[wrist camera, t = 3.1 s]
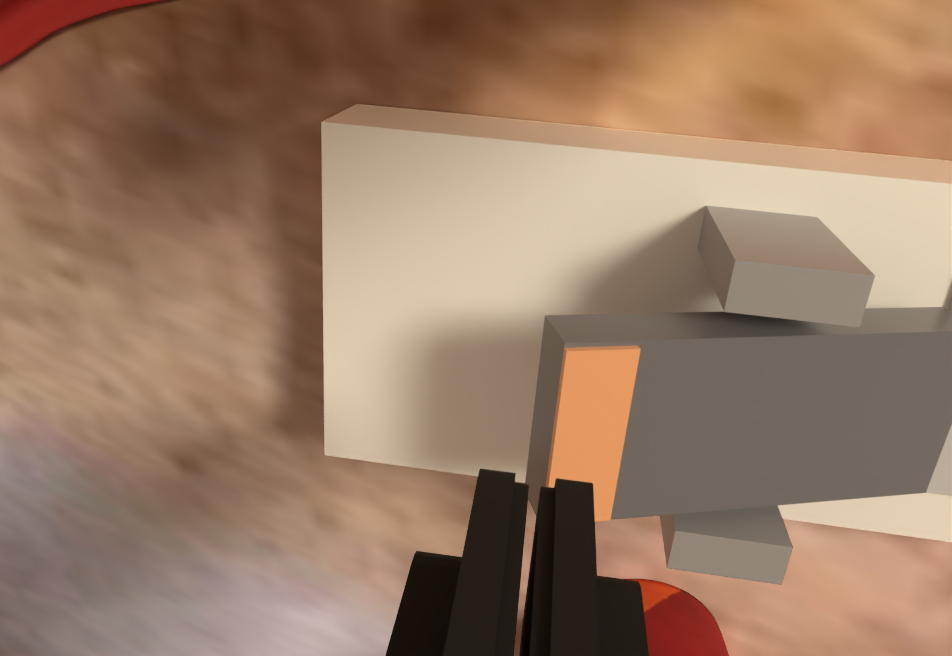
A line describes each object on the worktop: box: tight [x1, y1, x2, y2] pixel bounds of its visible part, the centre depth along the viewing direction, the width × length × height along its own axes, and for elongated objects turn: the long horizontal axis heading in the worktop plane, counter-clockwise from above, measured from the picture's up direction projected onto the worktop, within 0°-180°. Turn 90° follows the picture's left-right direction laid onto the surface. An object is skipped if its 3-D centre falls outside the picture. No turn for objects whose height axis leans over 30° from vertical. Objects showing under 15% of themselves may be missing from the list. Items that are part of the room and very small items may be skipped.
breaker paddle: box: [525, 307, 952, 522], centre depth 16 cm, size 9×4×1 cm, turn 86°
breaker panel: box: [321, 104, 952, 585], centre depth 18 cm, size 20×9×7 cm, turn 86°
